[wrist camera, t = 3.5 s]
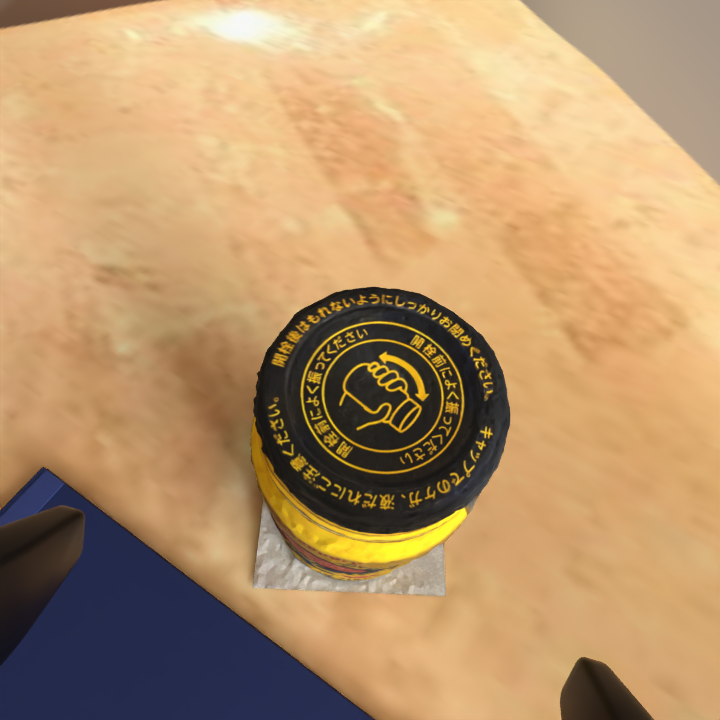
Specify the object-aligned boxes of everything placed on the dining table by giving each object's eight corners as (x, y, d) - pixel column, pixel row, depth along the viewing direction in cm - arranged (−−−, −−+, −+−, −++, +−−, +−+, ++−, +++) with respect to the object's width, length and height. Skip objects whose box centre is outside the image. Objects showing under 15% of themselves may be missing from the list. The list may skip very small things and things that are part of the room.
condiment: (253, 588, 19) (173, 563, 8) (277, 381, 23) (245, 179, 12) (444, 596, 19) (606, 583, 9) (438, 392, 23) (545, 206, 12)
